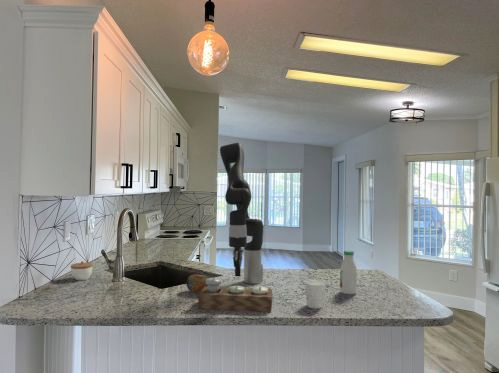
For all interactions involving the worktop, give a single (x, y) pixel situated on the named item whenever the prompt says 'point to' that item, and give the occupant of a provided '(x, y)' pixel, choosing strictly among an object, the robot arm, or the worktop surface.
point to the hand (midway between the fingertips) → (237, 275)
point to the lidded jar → (81, 270)
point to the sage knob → (236, 289)
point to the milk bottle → (348, 274)
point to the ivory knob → (260, 290)
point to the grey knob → (213, 285)
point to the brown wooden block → (235, 300)
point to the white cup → (315, 293)
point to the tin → (196, 283)
